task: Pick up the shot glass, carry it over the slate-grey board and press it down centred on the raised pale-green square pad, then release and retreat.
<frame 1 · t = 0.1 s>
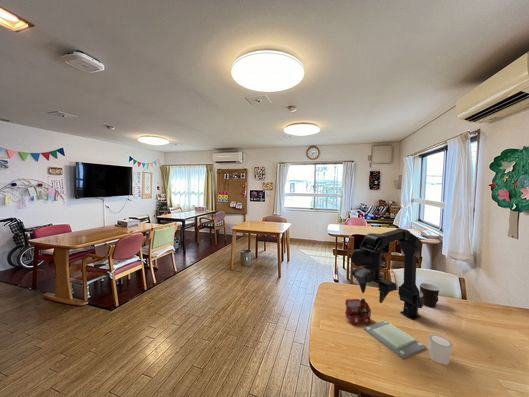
hand: (371, 297, 97), 15 cm above the table, fingers open, 9 cm apart
toy fire truck: (357, 320, 104), on the table
coffee mug: (428, 306, 118), on the table
baseplate: (393, 338, 92), on the table
shot glass: (439, 359, 82), on the table
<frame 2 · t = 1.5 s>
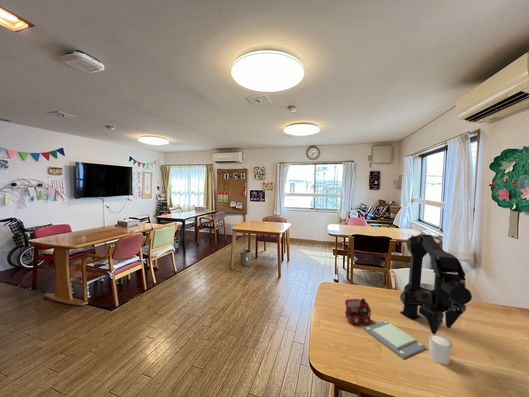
hand: (440, 330, 81), 11 cm above the table, fingers open, 9 cm apart
nothing on the table moved.
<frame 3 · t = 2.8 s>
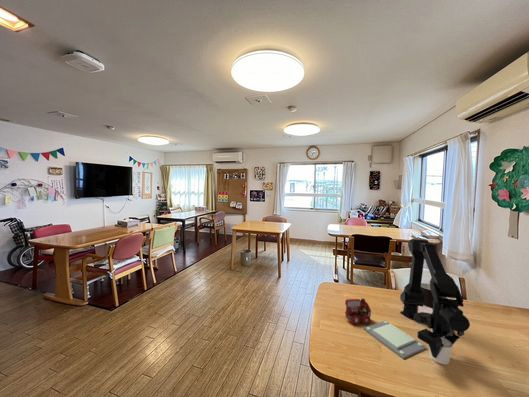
hand: (439, 354, 82), 2 cm above the table, fingers closed on shot glass, 6 cm apart
shot glass: (439, 358, 82), on the table, touching gripper
everything else where it was.
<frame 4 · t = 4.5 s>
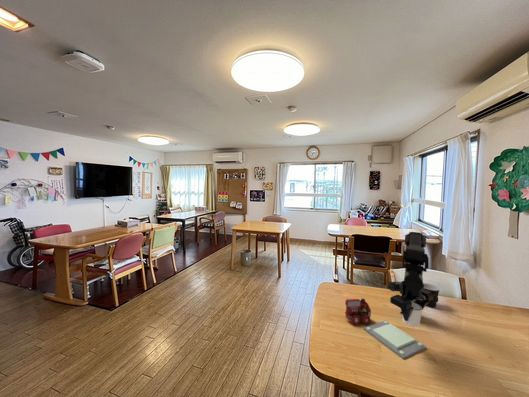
hand: (410, 318, 87), 11 cm above the table, fingers closed on shot glass, 6 cm apart
shot glass: (410, 322, 87), point 10 cm above the table, touching gripper
everything else where it was.
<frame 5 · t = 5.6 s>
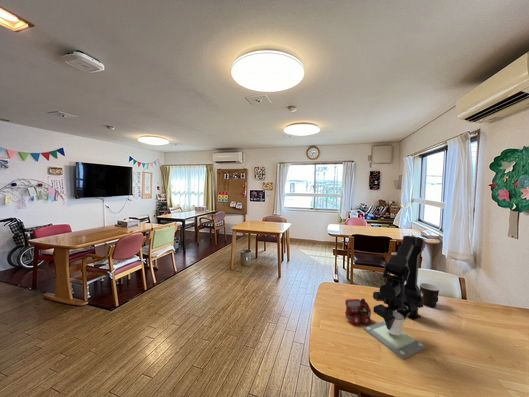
hand: (393, 327, 92), 5 cm above the table, fingers closed on shot glass, 6 cm apart
shot glass: (393, 331, 92), point 3 cm above the table, touching gripper
everything else where it was.
when the fingers open (4 cm above the table, at t = 6.3 s): shot glass stays where it is, resting on baseplate.
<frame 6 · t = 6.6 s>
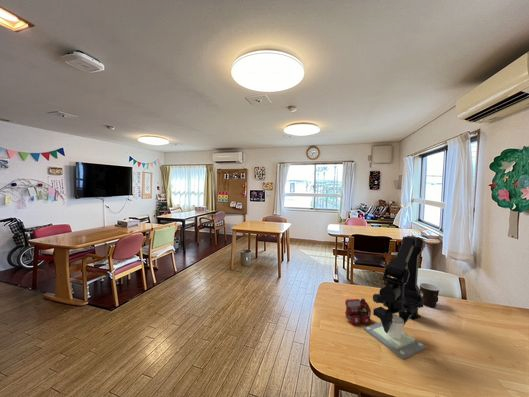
hand: (393, 329, 92), 4 cm above the table, fingers open, 9 cm apart
shot glass: (393, 334, 92), point 2 cm above the table, touching baseplate
everything else where it was.
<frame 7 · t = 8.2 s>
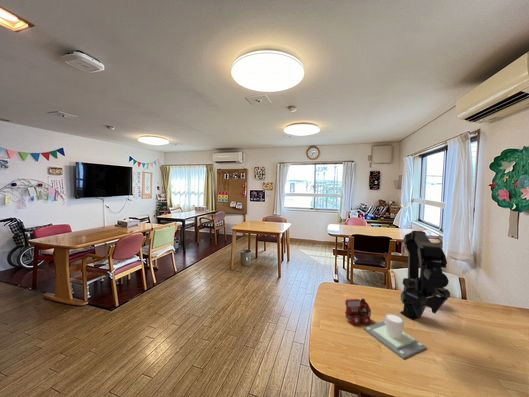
hand: (426, 315, 87), 13 cm above the table, fingers open, 9 cm apart
nothing on the table moved.
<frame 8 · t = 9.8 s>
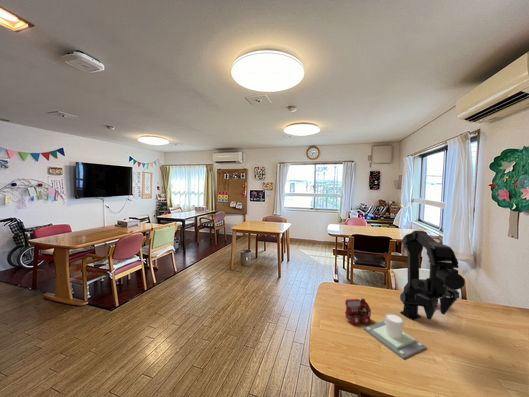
hand: (435, 316, 86), 13 cm above the table, fingers open, 9 cm apart
nothing on the table moved.
at the end: shot glass 0.1 cm from the baseplate (horizontally); shot glass tilted 0°; the gripper is holding nothing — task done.
